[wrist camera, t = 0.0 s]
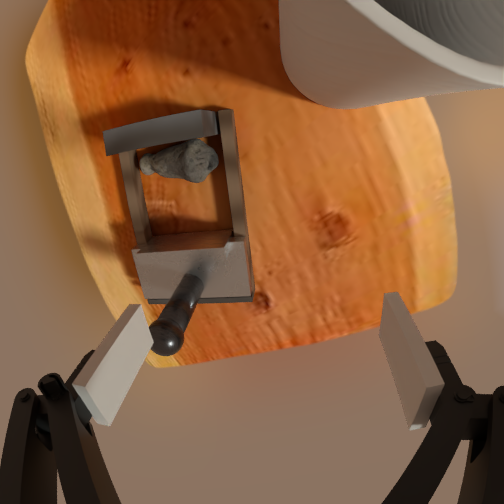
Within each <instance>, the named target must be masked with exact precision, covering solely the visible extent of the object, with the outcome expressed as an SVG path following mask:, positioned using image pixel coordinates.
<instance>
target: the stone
mask: <svg viewBox="0 0 504 504" xmlns="http://www.w3.org/2000/svg"><path fill="white" fill-rule="evenodd" d="M218 163H219V160H218V156H217V154H216V152H215V151H214V149H213V148H211V147H210V146H208V145H207V144H206V143H204V142H203V141H201V140H200V139H191V140H189V141H186V142H184V143H182V144H179V145H175V146H172V147H169V148H166V149H164V150H161V151H159V152H158V153H157V154H150V153H146V154H144V155H143V156H142V158H141V159H140V163H139V164H140V168H141V171H142V172H143V173H144V174H145V175H151V174H153V173H154V172H156V173H158V174H159V175H161V176H163V177H167V178H181V179H185V180H187V181H190V182H194V183H199V182H202V181H204V180H205V179H206V177H207V175H208V174H209V173H210V172H211V171H212V170H213V169H215V168H216V167H217V166H218Z"/></svg>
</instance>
